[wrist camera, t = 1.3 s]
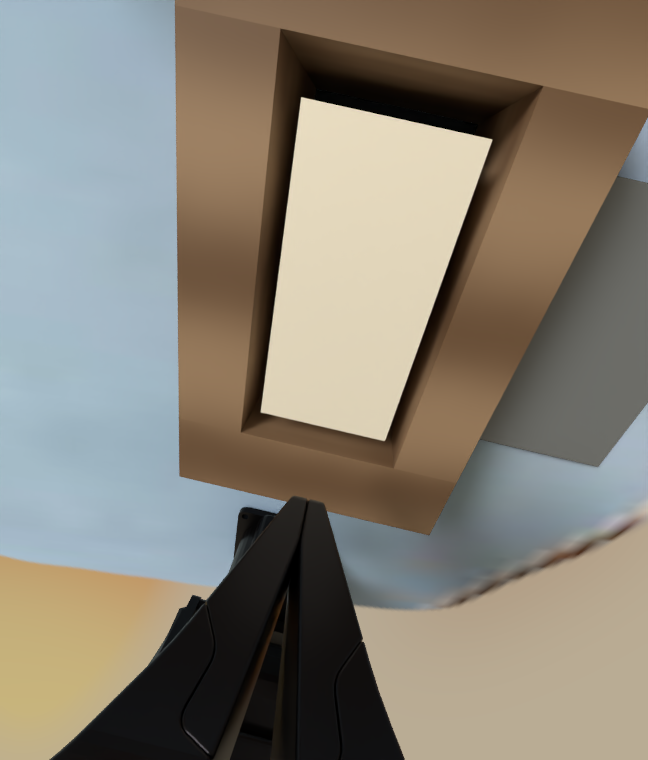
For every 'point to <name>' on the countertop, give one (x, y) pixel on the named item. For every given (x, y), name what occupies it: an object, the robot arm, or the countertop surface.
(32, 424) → the countertop surface
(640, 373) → the slate rubber mat
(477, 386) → the walnut frame
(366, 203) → the cream tile
